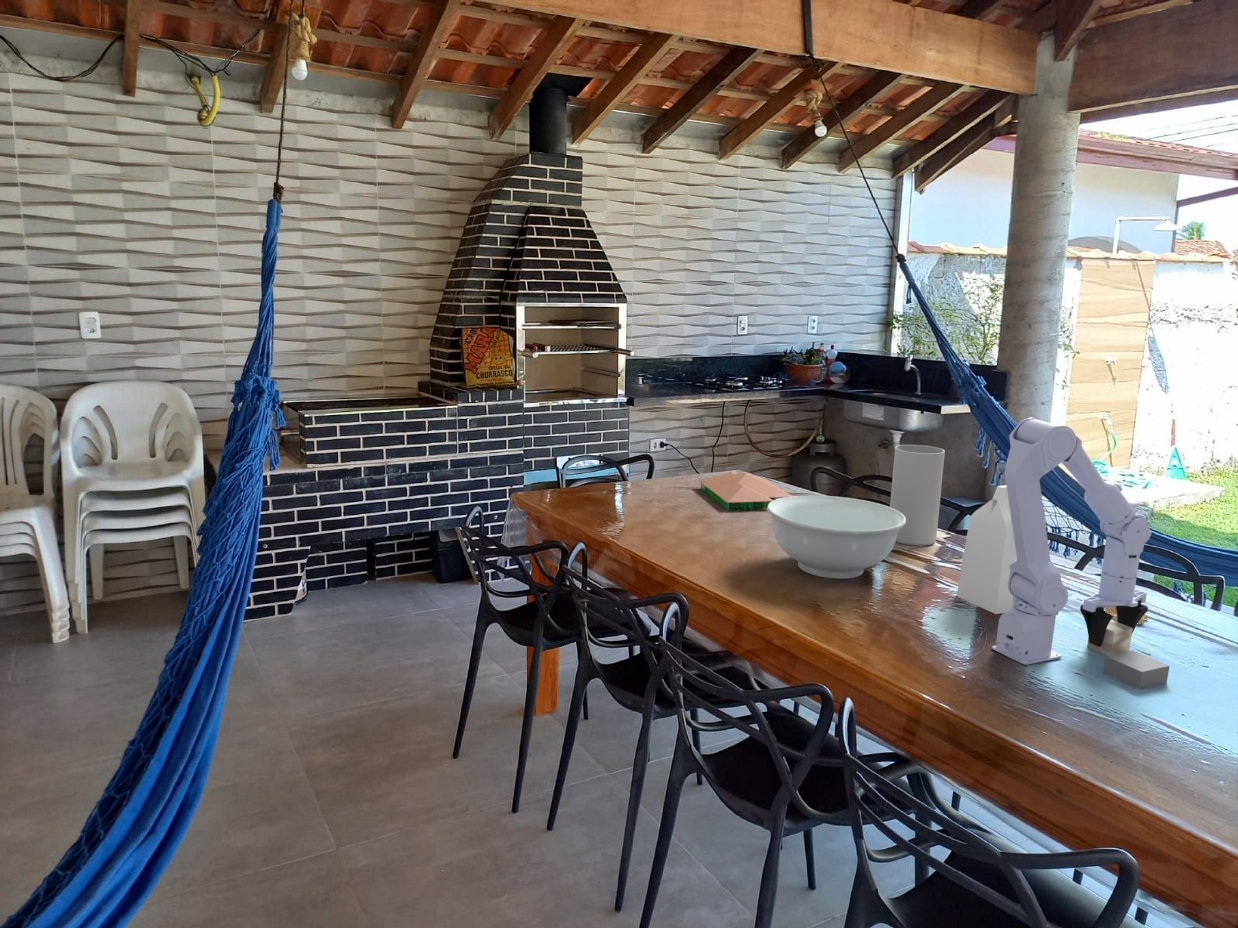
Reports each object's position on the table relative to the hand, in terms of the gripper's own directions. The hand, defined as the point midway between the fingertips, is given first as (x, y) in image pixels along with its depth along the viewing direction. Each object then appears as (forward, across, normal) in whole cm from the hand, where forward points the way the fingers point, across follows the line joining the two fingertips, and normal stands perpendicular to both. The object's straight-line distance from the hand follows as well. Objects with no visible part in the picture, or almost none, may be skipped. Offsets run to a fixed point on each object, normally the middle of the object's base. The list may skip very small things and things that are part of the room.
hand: (1109, 641), depth 165 cm
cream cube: (+2, 0, 0) cm, 2 cm away
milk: (+2, 0, +27) cm, 27 cm away
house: (+2, -4, +127) cm, 127 cm away
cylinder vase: (+2, +15, +71) cm, 73 cm away
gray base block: (+2, -7, -10) cm, 13 cm away
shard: (+2, +18, +12) cm, 22 cm away
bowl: (+2, -21, +58) cm, 62 cm away
